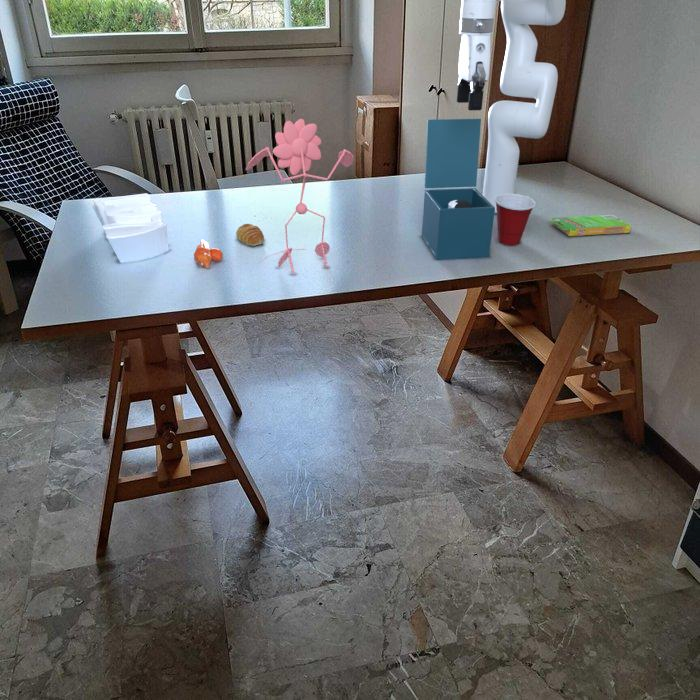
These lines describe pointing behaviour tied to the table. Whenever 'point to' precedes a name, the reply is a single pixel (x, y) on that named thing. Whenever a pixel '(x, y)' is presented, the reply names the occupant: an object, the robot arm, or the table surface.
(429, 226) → the cool box
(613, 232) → the game box
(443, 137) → the cool box lid
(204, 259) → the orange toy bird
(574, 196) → the table surface
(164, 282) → the table surface
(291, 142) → the figurine
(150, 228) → the wavy white extrusion
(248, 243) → the pastry
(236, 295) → the table surface
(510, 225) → the plastic cup
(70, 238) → the table surface
